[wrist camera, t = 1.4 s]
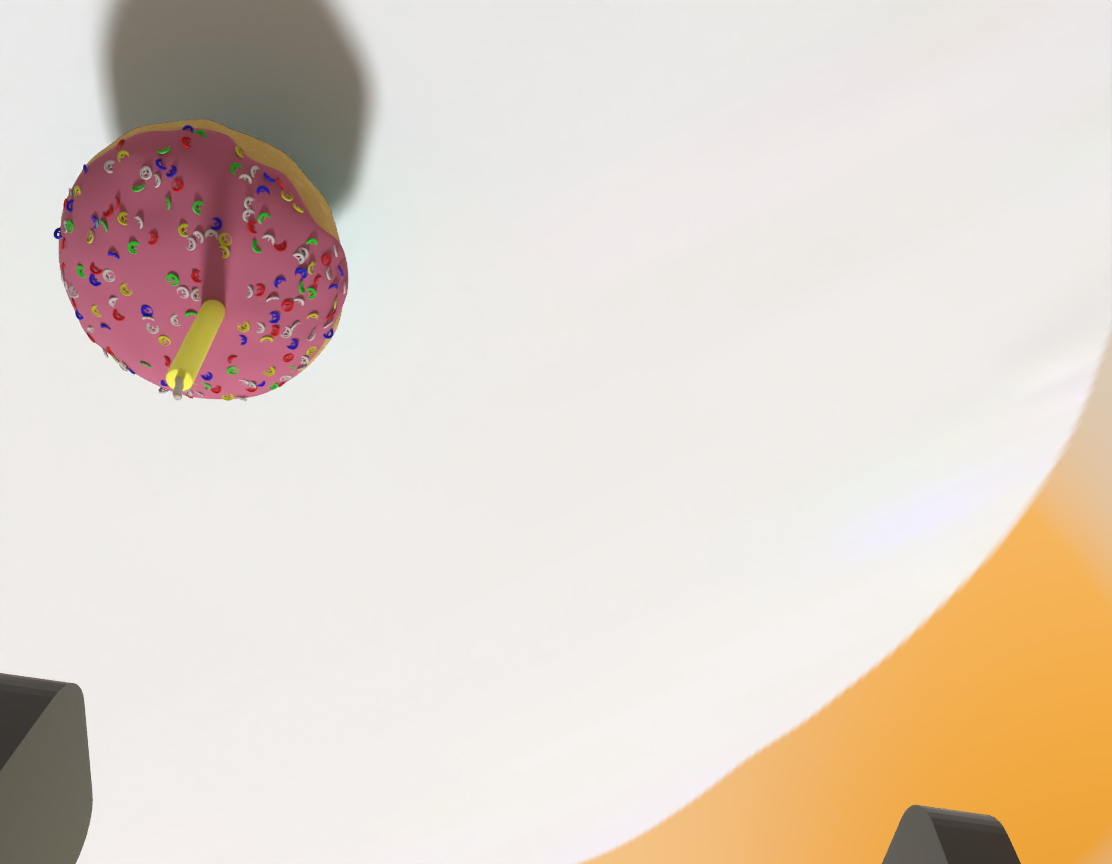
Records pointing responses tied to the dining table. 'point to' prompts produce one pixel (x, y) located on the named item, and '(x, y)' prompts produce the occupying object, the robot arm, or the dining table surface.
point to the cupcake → (202, 260)
